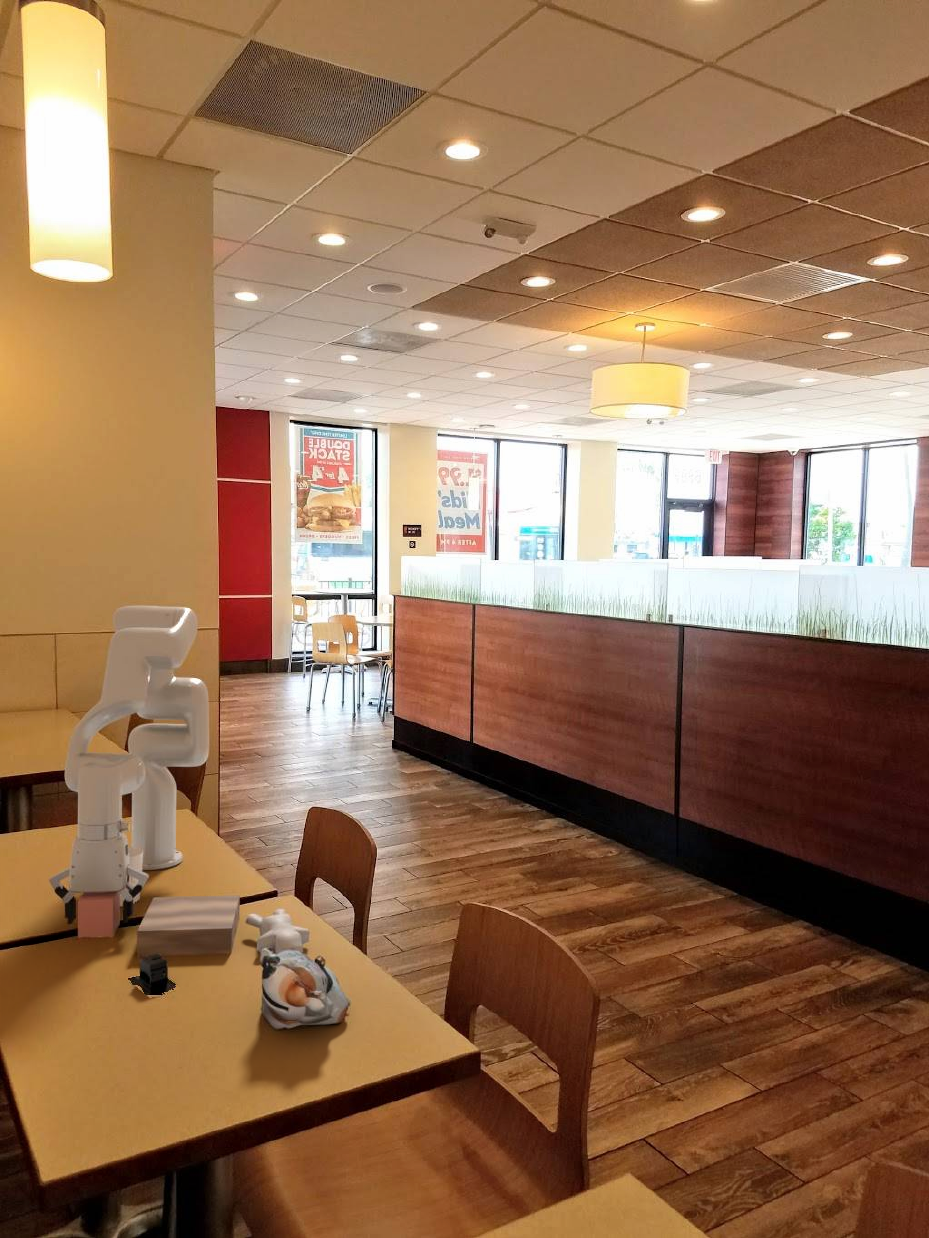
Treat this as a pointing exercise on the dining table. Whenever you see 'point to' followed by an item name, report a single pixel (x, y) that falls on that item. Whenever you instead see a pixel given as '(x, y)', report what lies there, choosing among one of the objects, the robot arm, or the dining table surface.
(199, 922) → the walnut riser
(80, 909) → the red block
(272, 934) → the bunny figurine
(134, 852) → the white cup
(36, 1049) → the dining table surface
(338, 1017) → the lucky cat figurine
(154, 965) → the black boxy gadget
